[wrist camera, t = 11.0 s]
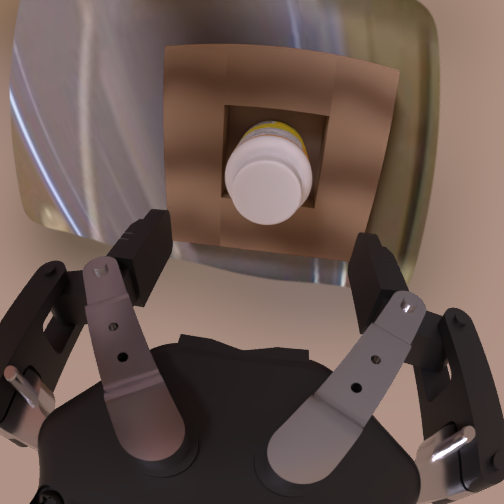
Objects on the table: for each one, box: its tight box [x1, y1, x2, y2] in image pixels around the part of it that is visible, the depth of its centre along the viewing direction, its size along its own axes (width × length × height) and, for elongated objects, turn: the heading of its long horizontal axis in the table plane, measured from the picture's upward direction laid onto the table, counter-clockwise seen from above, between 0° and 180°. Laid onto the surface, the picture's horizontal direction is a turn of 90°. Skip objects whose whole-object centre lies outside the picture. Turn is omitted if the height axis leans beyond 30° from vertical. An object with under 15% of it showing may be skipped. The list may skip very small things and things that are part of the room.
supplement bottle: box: [225, 120, 312, 225], centre depth 20 cm, size 6×6×10 cm
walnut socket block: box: [163, 44, 400, 262], centre depth 24 cm, size 18×18×3 cm
